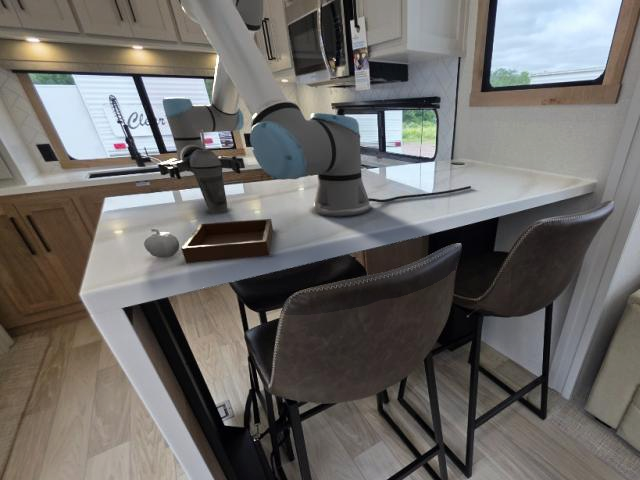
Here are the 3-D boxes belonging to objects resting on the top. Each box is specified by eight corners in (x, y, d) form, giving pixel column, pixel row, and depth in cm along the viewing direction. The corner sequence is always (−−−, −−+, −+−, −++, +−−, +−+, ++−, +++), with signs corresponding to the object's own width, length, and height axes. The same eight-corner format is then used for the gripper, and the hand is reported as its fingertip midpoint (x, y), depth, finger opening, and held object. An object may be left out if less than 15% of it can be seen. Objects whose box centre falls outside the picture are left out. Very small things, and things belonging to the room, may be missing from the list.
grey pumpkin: (148, 253, 65) (138, 228, 62) (180, 247, 67) (171, 222, 65) (151, 264, 60) (139, 237, 58) (184, 257, 63) (175, 231, 61)
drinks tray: (273, 231, 76) (270, 218, 75) (269, 255, 64) (266, 241, 63) (204, 236, 73) (200, 223, 71) (186, 263, 61) (180, 248, 59)
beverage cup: (203, 209, 91) (179, 128, 81) (232, 206, 94) (212, 127, 84) (203, 216, 86) (177, 130, 75) (234, 212, 88) (213, 129, 78)
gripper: (244, 169, 105) (263, 180, 90) (151, 177, 93) (155, 192, 78) (238, 143, 101) (257, 150, 86) (140, 148, 89) (142, 158, 74)
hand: (209, 170), depth 82 cm, fingers open, 13 cm apart
